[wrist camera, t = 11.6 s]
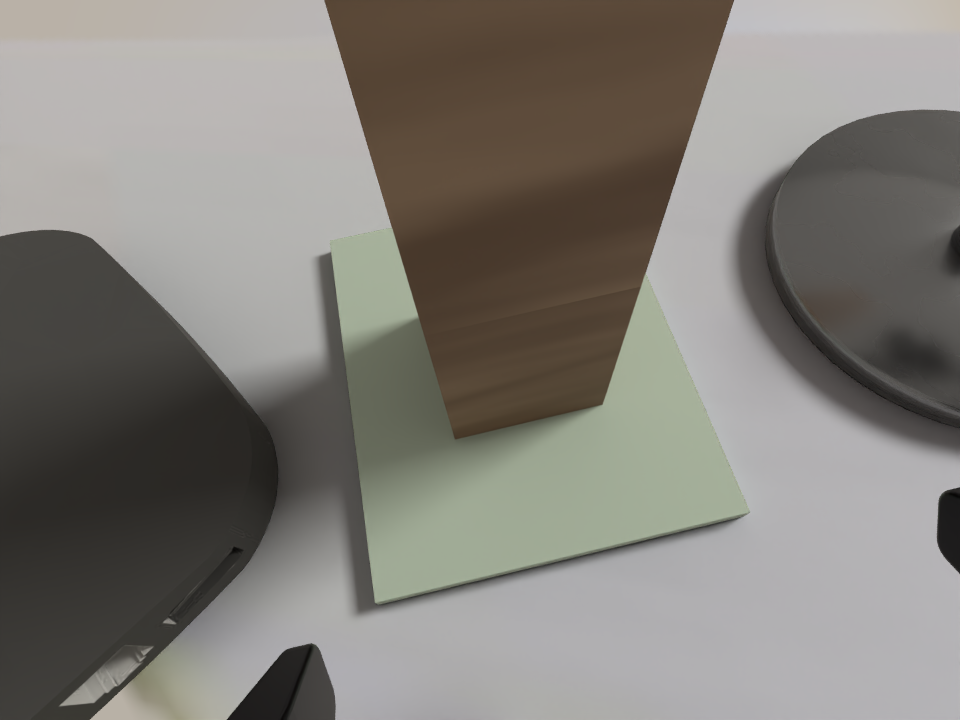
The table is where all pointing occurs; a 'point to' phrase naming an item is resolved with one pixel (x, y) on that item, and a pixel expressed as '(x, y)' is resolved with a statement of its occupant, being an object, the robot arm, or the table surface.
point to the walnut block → (526, 178)
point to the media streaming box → (110, 477)
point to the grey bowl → (878, 254)
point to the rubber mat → (513, 448)
